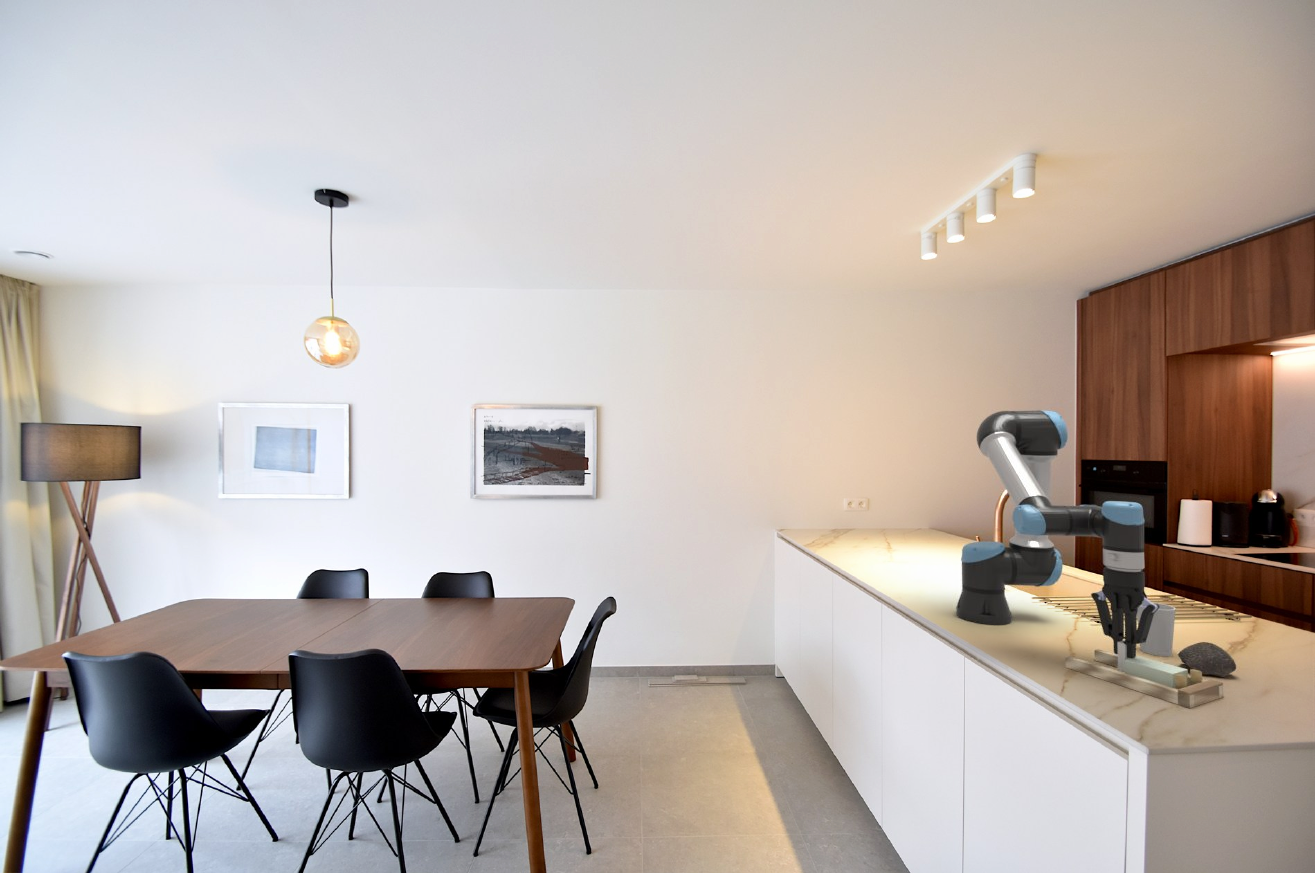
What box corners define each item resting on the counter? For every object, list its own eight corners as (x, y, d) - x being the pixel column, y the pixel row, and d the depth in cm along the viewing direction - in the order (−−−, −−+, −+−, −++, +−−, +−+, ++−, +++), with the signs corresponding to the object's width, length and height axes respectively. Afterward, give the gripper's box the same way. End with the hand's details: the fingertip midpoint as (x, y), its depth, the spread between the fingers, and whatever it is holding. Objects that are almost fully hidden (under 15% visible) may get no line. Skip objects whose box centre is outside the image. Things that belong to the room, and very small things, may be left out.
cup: (1184, 658, 145) (1183, 610, 145) (1148, 656, 146) (1147, 609, 147) (1163, 647, 153) (1162, 602, 153) (1129, 645, 154) (1128, 600, 155)
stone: (1173, 681, 140) (1183, 663, 134) (1173, 650, 144) (1183, 631, 138) (1228, 697, 134) (1242, 679, 128) (1227, 664, 139) (1240, 645, 133)
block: (1124, 681, 131) (1124, 659, 131) (1139, 677, 133) (1139, 655, 133) (1173, 697, 123) (1172, 673, 123) (1188, 692, 125) (1187, 669, 125)
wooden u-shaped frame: (1065, 667, 139) (1065, 646, 139) (1098, 659, 144) (1098, 639, 144) (1190, 708, 117) (1189, 683, 117) (1223, 696, 122) (1222, 673, 123)
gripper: (1083, 564, 138) (1084, 663, 138) (1147, 575, 126) (1149, 683, 126) (1101, 561, 141) (1103, 658, 141) (1166, 572, 130) (1168, 677, 129)
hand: (1124, 670), depth 133 cm, fingers closed
